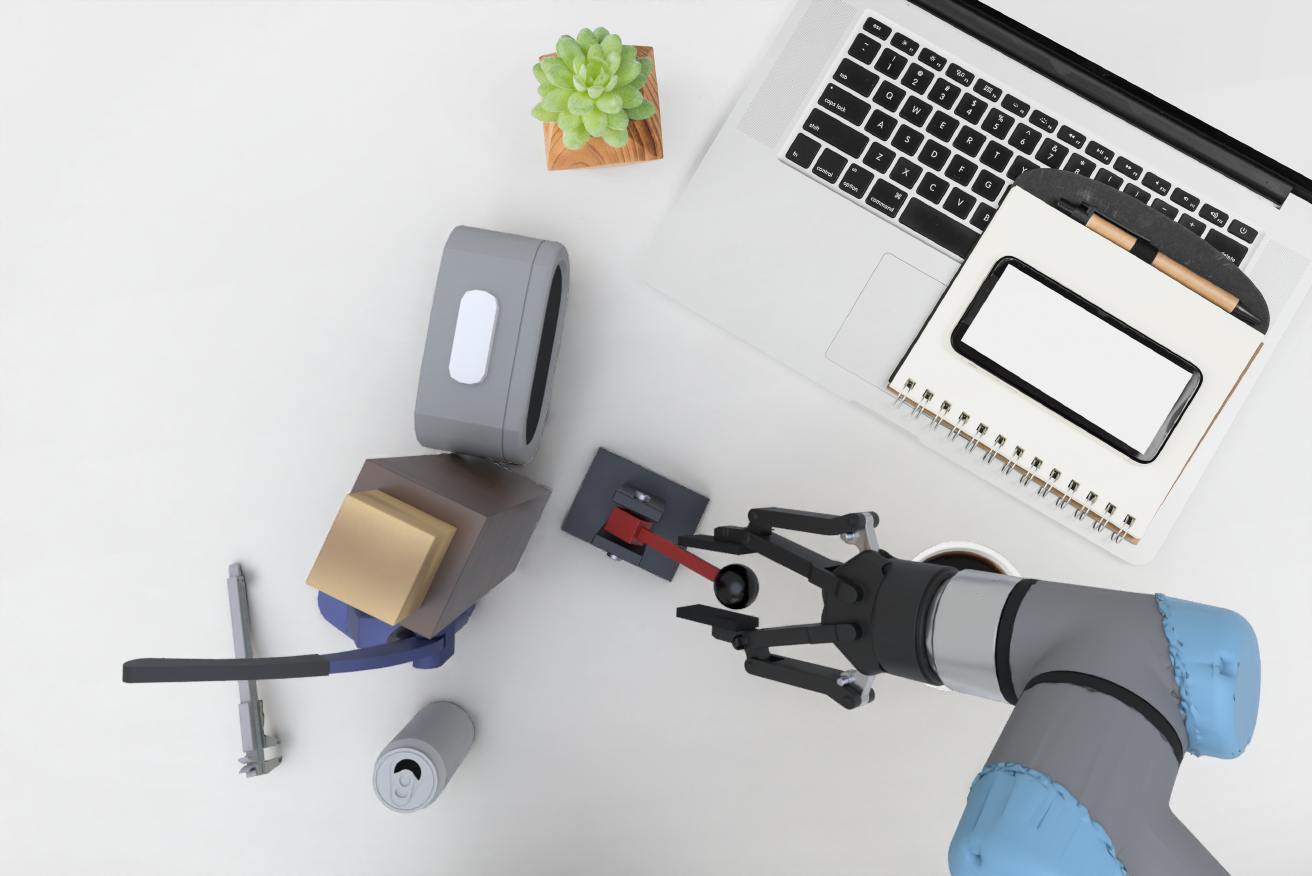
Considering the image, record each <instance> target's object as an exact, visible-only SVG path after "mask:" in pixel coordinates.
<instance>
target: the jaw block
mask: <svg viewBox="0 0 1312 876" xmlns="http://www.w3.org/2000/svg"><path fill="white" fill-rule="evenodd" d="M456 530H457V528H456V527H454V526H452V525H450V524H448V523H446V522H444V521H442V520H440V519H438V518H436V517H434V516H432V515H429V514H427V513H425V512H423V511H421V510H419V509H417V508H415V507H413V506H411V505H409V504H407V503H404V502H402V501H400V500H398V499H396V498H394V497H392V496H390V495H388V494H386V493H384V492H382V491H379V490H377V489H376V490H370V491H365V492H359V493H353V494H350V493H347V494H346V495H345V497H344V499H343V501H342V503H341V506H340V508H339V510H338V512H337V513H336V515H335V519H334V521H333V523H332V525H331V527H330V529H329V531H328V533H327V536H326V538H325V540H324V542H323V544H322V546H321V548H320V550H319V553H318V555H317V557H316V558H315V561H314V563H313V566H312V568H311V569H310V571H309V573H308V576H307V579H306V580H305V585H307V586H309V587H311V588H314V589H316V590H317V591H318V592H319V591H321V592H324V593H326V594H328V595H330V596H332V597H334V598H336V599H338V600H340V601H342V602H344V603H346V604H348V605H350V606H352V607H355V608H357V609H359V610H361V611H363V612H365V613H367V614H369V615H371V616H373V617H375V618H377V619H379V620H381V621H383V622H386V623H388V624H390V625H392V626H394V625H396V624H397V623H399V622H400V621H402V620H403V619H405V618H406V617H408V616H409V615H411V614H413V613H414V612H416V611H417V610H419V609H420V607H421V605H422V602H423V600H424V598H425V596H426V594H427V592H428V590H429V588H430V585H431V583H432V581H433V579H434V577H435V575H436V573H437V571H438V568H439V566H440V564H441V562H442V560H443V558H444V556H445V554H446V551H447V549H448V547H449V545H450V543H451V541H452V539H453V537H454V534H455V532H456Z"/></svg>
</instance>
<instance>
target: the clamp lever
mask: <svg viewBox="0 0 1312 876" xmlns="http://www.w3.org/2000/svg"><path fill="white" fill-rule="evenodd" d="M652 524H653V523H652V522H650V521H648V520H647V519H645V518H643V517H641V516H639V515H637V514H636V513H634V512H632V511H630V510H628V509H624V508H620V507H617V506H615V507H614V509H613V511H612V513H611V515H610V517H609V520H608V522H607V524H606V526H605V528H604V530H606V531H608V532H609V533H611V534H613V535H615V536H616V537H618V538H620V539H622V540H623V541H625V542H627V543H629V544H634V545H639V546H642V545H643V543H645V544H646V545H648V546H650V547H652V548H653V549H655V550H657V551H659V552H660V553H662V554H664V555H666V556H668V557H669V558H671V559H673V560H675V561H676V562H678V563H680V564H679V565H682V566H683V567H685V568H687V569H689V570H690V571H692V572H693V573H696V574H698V575H700V576H701V577H703V578H705V579H707V580H708V581H710V582H712V583H713V585H712V588H713V589H712V590H713V593H714V596H715V598H716V600H717V601H718V602H719V603H720V604H721V605H722V606H723V607H724V608H726V609H728V610H734V611H738V610H744V609H746V608H748V607H750V606H751V605H753V604H754V603H755V601H756V600H757V598H758V596H759V593H760V581H759V578H758V575H757V574H756V573H755V571H754V570H753V569H752V568H750V566H747V565H745V564H743V563H735V562H734V563H729V564H726V565H724V566H722V568H720V567H718V566H717V565H715V564H712V563H710V562H709V561H707V560H706V559H703V558H702V557H700V556H698V555H696V554H695V553H693V552H690V551H689V550H687V549H686V550H685V549H684V548H682V547H680V546H678V545H676V544H674V543H673V542H671V541H669V540H667V539H665V538H664V537H662V536H660V535H658V534H656V533H655V532H653V531H651V530H650V528H651V526H652Z"/></svg>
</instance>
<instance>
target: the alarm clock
mask: <svg viewBox="0 0 1312 876" xmlns="http://www.w3.org/2000/svg"><path fill="white" fill-rule="evenodd" d="M570 264H571V263H570V256H569V252H568V250H567V248H566V246H565V245H564V244H563V243H562V242H559V241H554V240H546V239H544V238H538V237H531V236H525V235H520V234H514V233H509V232H503V231H497V230H492V229H485V228H481V227H474V226H470V225H463V224H460V225H457V226H455V227H454V228H453V229H452V231H451V232H450V233H449V235H448V237H447V240H446V242H445V245H444V247H443V250H442V255H441V259H440V263H439V268H438V273H437V277H436V282H435V288H434V293H433V297H432V298H433V299H432V304H431V310H430V314H429V321H428V327H427V332H426V336H425V342H424V347H423V354H422V359H421V365H420V370H419V376H418V382H417V389H416V397H415V403H414V412H413V418H414V419H413V421H414V433H415V437H416V440H417V442H418V443H419V445H420V446H421V447H423V448H427V449H432V450H437V451H443V452H449V453H458V454H464V455H469V456H475V457H480V458H486V459H488V460H490V461H498V462H501V463H502V462H503V463H507V464H508V463H509V464H513V465H518V466H525V465H526V464H529V463H530V462H531V461H532V460H533V459H534V458H535V456H536V453H537V451H538V448H539V446H540V443H541V439H542V436H543V433H544V429H545V425H546V424H545V423H546V418H547V413H548V411H549V410H548V409H549V404H550V399H551V393H552V389H553V383H554V377H555V371H556V366H557V362H558V361H557V360H558V354H559V349H560V344H561V339H562V333H563V326H564V323H565V315H566V310H567V305H568V297H569V290H570V280H571V279H570V277H571V265H570Z"/></svg>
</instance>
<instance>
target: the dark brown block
mask: <svg viewBox="0 0 1312 876" xmlns="http://www.w3.org/2000/svg"><path fill="white" fill-rule="evenodd" d="M376 489H377V490H379V491H382V492H384V493H386V494H388V495H390V496H392V497H394V498H396V499H398V500H400V501H402V502H404V503H407V504H409V505H411V506H413V507H415V508H417V509H419V510H421V511H423V512H425V513H427V514H429V515H432V516H434V517H436V518H438V519H440V520H442V521H444V522H446V523H448V524H450V525H452V526H454V527H456V528H457V530H456V532H455V534H454V537H453V539H452V541H451V543H450V545H449V547H448V549H447V551H446V554H445V556H444V558H443V560H442V562H441V564H440V566H439V568H438V571H437V573H436V575H435V577H434V579H433V581H432V583H431V585H430V588H429V590H428V592H427V594H426V596H425V598H424V600H423V602H422V605H421V607H420V609H419V610H417V611H416V612H414V613H413V614H411V615H409V616H408V617H406V618H405V619H403V620H402V621H400V622H399V623H397V624H399V625H401V626H403V627H405V628H407V629H409V630H411V631H413V632H416V633H418V634H420V635H422V636H424V637H426V638H428V639H431V638H433V637H434V636H435V635H436V634H437V633H439V632H440V631H441V630H442V629H444V628H445V627H446V626H447V625H449V624H450V623H451V622H452V621H453V620H455V619H456V618H457V617H458V616H460V615H461V614H462V613H463V612H465V611H466V610H467V609H468V608H470V607H471V606H472V605H473V604H474V603H475V604H476V603H477V602H479V601H480V600H481V599H482V598H483V597H484V596H486V595H488V593H489V592H491V591H492V590H493V589H495V588H496V587H497V586H498V585H500V583H502V582H503V581H504V580H505V579H507V578H508V577H509V576H510V575H512V574H513V573H514V572H515V571H516V569H517V566H518V565H519V562H520V560H521V558H522V556H523V554H524V552H525V550H526V547H527V545H528V543H529V542H530V539H531V537H532V535H533V533H534V531H535V528H536V526H537V524H538V522H539V520H540V518H541V516H542V514H543V511H544V509H545V507H546V505H547V503H548V501H549V499H550V496H551V494H552V493H553V489H551V488H549V487H547V486H544V485H542V484H541V483H538V482H536V481H534V480H533V479H530V478H527V477H526V476H524V475H522V474H519V473H518V472H515V471H513V470H511V469H509V468H507V467H505V466H503V465H500V464H498V463H496V462H494V461H493V460H491V459H486V458H480V457H475V456H469V455H464V454H458V453H453V452H449V453H437V454H420V455H405V456H391V457H390V456H389V457H376V458H366V459H365V461H364V463H363V465H362V467H361V469H360V470H359V474H358V476H357V478H356V480H355V482H354V484H353V486H352V488H351V490H350V493H349V494H353V493H359V492H365V491H370V490H376Z"/></svg>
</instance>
